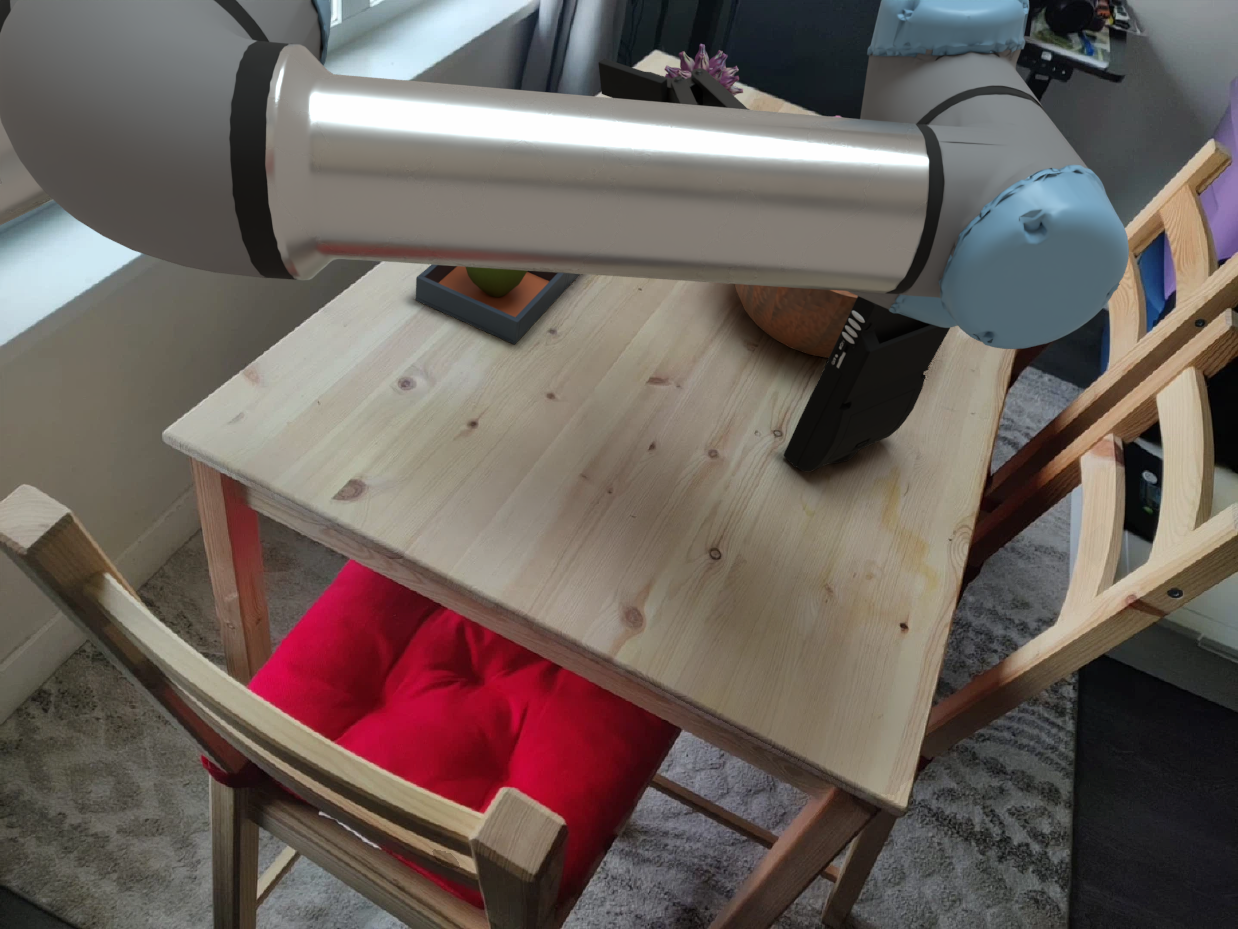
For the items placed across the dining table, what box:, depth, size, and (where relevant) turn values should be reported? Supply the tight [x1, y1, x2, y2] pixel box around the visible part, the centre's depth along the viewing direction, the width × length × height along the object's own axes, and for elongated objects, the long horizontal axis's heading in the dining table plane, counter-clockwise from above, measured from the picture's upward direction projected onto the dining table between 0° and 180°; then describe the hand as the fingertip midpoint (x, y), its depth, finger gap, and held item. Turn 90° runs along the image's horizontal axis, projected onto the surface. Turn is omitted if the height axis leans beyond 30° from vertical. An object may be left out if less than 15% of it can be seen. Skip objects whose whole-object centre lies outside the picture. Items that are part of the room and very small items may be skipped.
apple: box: [466, 267, 527, 297], centre depth 93 cm, size 9×8×12 cm
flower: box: [664, 43, 744, 97], centre depth 128 cm, size 12×12×12 cm
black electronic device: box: [783, 296, 951, 473], centre depth 83 cm, size 12×5×20 cm, turn 125°
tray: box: [415, 264, 580, 345], centre depth 100 cm, size 23×12×3 cm, turn 156°
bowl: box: [734, 284, 858, 359], centre depth 102 cm, size 25×25×11 cm
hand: (546, 112), depth 72 cm, fingers open, 13 cm apart
